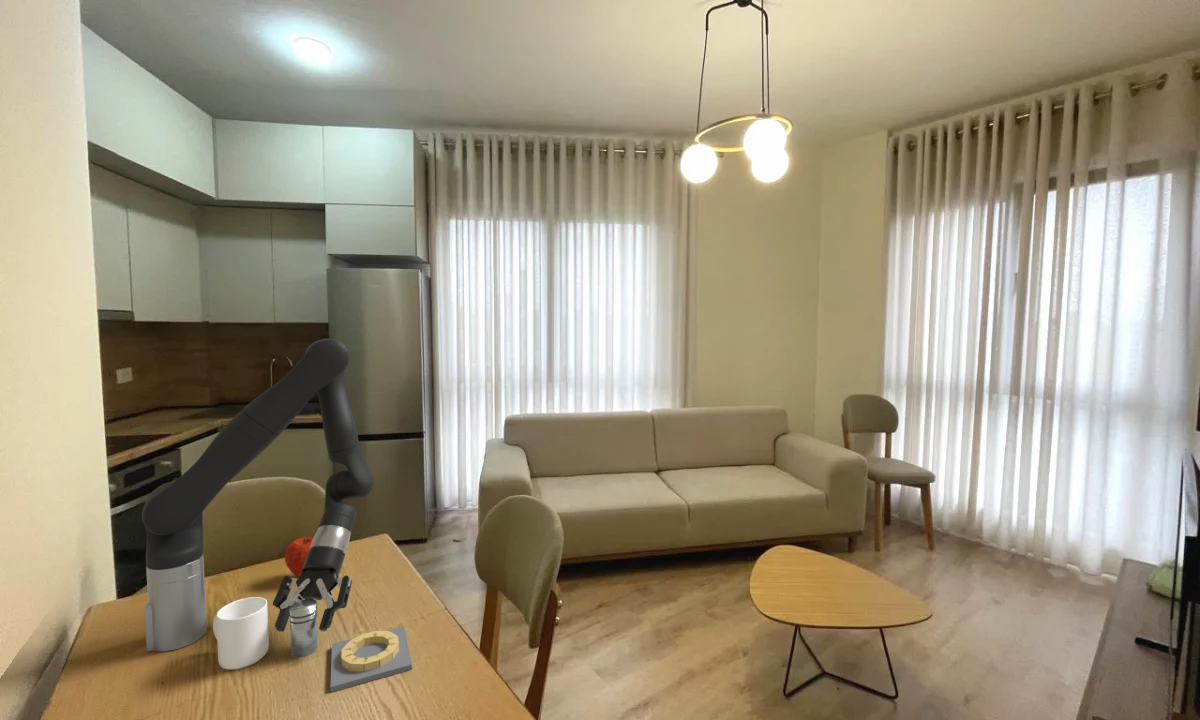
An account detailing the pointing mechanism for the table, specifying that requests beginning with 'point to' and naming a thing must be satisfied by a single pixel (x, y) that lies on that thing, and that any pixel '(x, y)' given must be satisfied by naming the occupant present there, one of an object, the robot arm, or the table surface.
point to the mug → (241, 632)
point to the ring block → (369, 658)
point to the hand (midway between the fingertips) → (301, 630)
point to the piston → (303, 628)
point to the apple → (297, 554)
